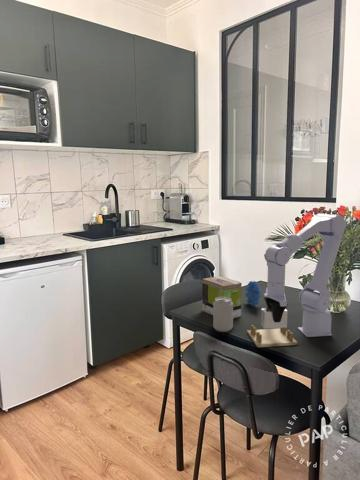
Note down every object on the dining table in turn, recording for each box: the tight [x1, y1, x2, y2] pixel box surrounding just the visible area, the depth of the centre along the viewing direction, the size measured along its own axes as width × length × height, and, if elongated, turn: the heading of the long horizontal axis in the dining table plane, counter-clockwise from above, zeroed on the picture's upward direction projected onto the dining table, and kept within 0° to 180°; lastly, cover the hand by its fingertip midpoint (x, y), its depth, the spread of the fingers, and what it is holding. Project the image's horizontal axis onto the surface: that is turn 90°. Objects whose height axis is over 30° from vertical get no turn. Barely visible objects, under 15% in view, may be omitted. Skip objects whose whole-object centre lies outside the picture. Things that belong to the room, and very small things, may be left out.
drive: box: [260, 307, 288, 329], centre depth 123 cm, size 8×4×6 cm, turn 96°
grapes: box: [244, 280, 262, 307], centre depth 160 cm, size 12×7×12 cm, turn 16°
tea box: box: [202, 275, 243, 319], centre depth 151 cm, size 15×10×15 cm
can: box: [212, 297, 234, 333], centre depth 135 cm, size 8×8×12 cm
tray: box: [246, 324, 298, 348], centre depth 127 cm, size 14×12×4 cm
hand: (274, 319), depth 123 cm, fingers closed on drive, 3 cm apart
